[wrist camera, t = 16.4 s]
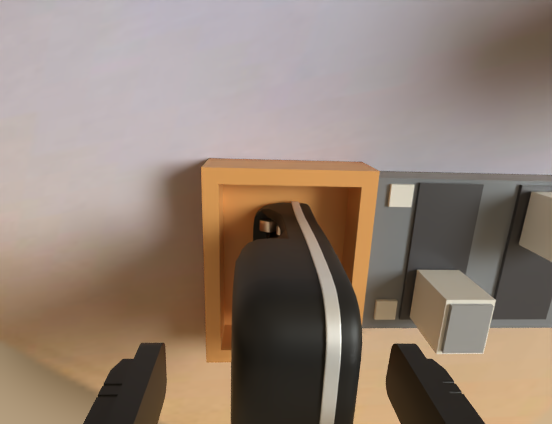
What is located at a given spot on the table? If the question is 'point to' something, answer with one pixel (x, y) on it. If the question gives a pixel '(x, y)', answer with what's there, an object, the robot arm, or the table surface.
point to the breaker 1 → (451, 311)
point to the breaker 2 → (538, 225)
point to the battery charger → (293, 325)
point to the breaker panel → (456, 244)
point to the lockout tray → (268, 190)
